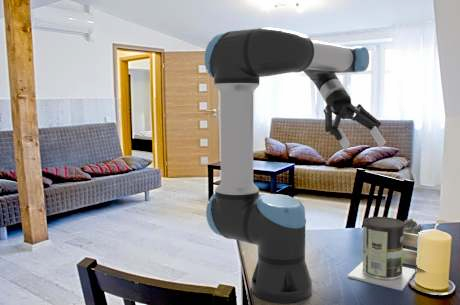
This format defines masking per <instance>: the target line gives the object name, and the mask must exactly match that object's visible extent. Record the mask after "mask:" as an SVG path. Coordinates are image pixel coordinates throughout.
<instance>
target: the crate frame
mask: <svg viewBox="0 0 460 305" xmlns="http://www.w3.org/2000/svg"><path fill="white" fill-rule="evenodd" d="M418 235H419V234H411V233H405V232H403V247H404V246H405V247H410V248H411V247H412V248H416V249H418V248H417V239H418ZM417 251H418V250H413V249H409V248H403V259H402V264H406V265H410V266H413V267H414V266H415V267H417V266H416V257H417Z"/></svg>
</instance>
